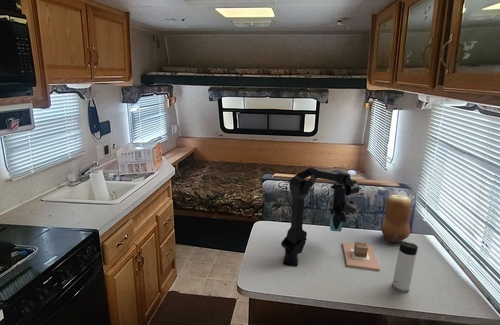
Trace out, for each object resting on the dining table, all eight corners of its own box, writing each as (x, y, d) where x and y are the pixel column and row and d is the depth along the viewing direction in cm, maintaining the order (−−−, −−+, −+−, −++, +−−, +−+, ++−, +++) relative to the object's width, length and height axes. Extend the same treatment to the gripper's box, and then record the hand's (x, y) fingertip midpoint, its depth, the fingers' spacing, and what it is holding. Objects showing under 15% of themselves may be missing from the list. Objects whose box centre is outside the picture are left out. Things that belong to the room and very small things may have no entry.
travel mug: (391, 289, 127) (399, 245, 122) (392, 280, 133) (401, 237, 128) (408, 294, 125) (418, 249, 119) (409, 285, 130) (418, 242, 125)
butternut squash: (388, 231, 175) (395, 189, 168) (412, 242, 165) (421, 197, 158) (374, 238, 167) (381, 194, 160) (398, 250, 157) (407, 203, 150)
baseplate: (379, 270, 139) (380, 268, 139) (346, 266, 141) (347, 264, 141) (371, 247, 158) (371, 245, 158) (342, 243, 160) (342, 241, 160)
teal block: (341, 231, 151) (342, 222, 150) (330, 230, 152) (331, 221, 151) (340, 226, 156) (341, 217, 155) (329, 225, 157) (330, 216, 155)
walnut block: (366, 257, 147) (367, 248, 145) (355, 256, 148) (356, 246, 146) (364, 252, 152) (366, 242, 150) (353, 250, 152) (355, 241, 151)
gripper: (360, 206, 140) (356, 238, 144) (353, 191, 157) (349, 219, 162) (334, 204, 141) (330, 235, 145) (330, 189, 159) (327, 217, 163)
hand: (335, 226), depth 154 cm, fingers closed on teal block, 5 cm apart
